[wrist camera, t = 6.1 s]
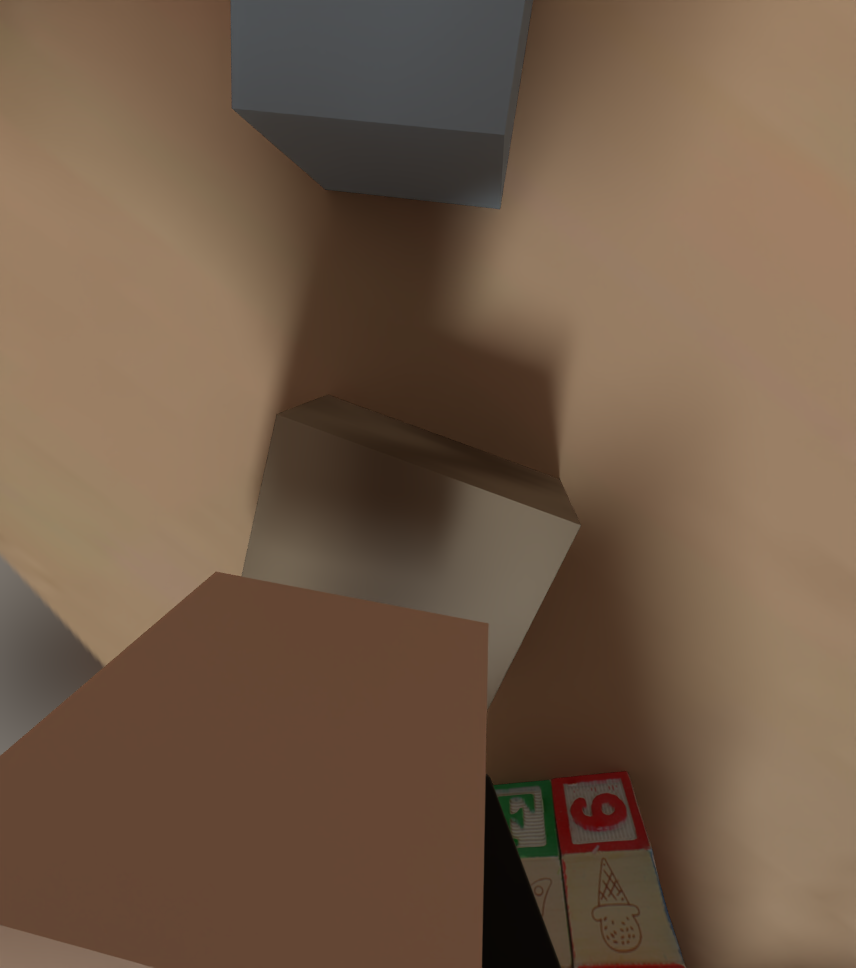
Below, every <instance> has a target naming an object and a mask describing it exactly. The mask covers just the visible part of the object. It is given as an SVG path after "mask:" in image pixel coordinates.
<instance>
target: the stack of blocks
mask: <svg viewBox="0 0 856 968" xmlns="http://www.w3.org/2000/svg"><path fill="white" fill-rule="evenodd" d="M493 786H494V789H495V791H496V794H497V797H498V799H499V802H500V805H501V808H502V810H503V813H504V816H505V818H506V821H507V824H508V826H509V829H510V832H511V834H512V837H513V840H514V842H515V845H516V848H517V850H518V853H519V856H520V858H521V861H522V864H523V866H524V869H525V872H526V874H527V877H528V880H529V882H530V885H531V888H532V890H533V893H534V896H535V898H536V901H537V904H538V906H539V909H540V912H541V914H542V917H543V920H544V922H545V925H546V928H547V930H548V933H549V936H550V938H551V941H552V944H553V946H554V949H555V952H556V954H557V957H558V960H559V962H560V965H561V968H686V966H685V963H684V960H683V957H682V953H681V950H680V947H679V944H678V941H677V938H676V935H675V932H674V929H673V926H672V923H671V920H670V917H669V914H668V910H667V907H666V903H665V900H664V896H663V893H662V889H661V885H660V881H659V877H658V872H657V868H656V864H655V859H654V855H653V850H652V847H651V844H650V840H649V837H648V834H647V831H646V828H645V825H644V822H643V819H642V816H641V812H640V809H639V806H638V802H637V799H636V796H635V792H634V789H633V786H632V782H631V779H630V776H629V774H628V772H626V771H624V772H613V773H603V774H593V775H583V776H574V777H564V778H554V779H551V780H543V781H533V782H522V783H511V784H501V785H493Z"/></svg>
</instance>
